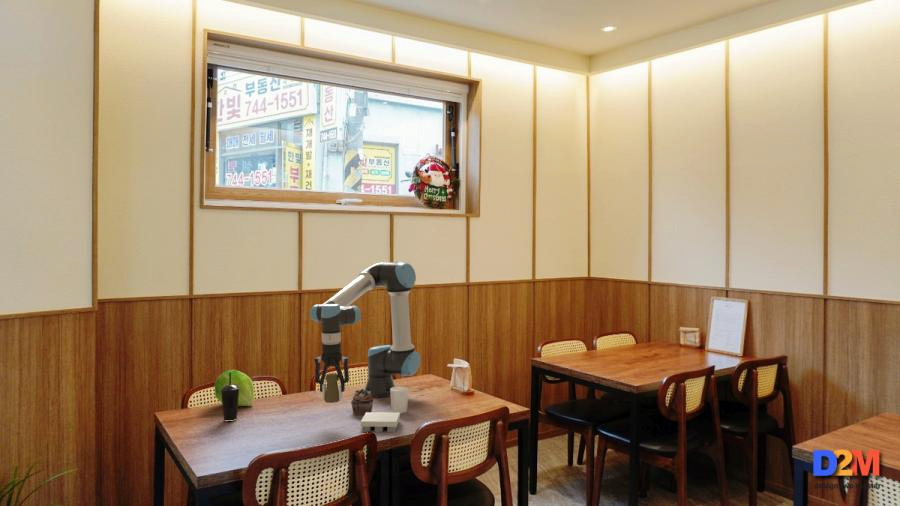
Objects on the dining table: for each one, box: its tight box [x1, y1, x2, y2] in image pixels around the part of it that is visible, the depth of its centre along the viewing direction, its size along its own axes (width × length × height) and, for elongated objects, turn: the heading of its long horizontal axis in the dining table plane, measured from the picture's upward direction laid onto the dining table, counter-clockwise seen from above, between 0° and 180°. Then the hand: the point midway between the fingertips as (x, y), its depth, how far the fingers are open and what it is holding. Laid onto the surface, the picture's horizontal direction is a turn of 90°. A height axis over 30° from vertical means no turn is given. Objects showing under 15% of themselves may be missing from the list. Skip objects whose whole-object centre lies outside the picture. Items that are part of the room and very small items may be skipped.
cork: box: [324, 372, 340, 404], centre depth 232 cm, size 6×6×11 cm
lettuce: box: [214, 369, 255, 407], centre depth 261 cm, size 17×20×16 cm
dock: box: [360, 411, 401, 433], centre depth 230 cm, size 12×14×4 cm
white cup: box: [390, 386, 409, 415], centre depth 251 cm, size 8×8×10 cm
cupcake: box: [350, 388, 374, 416], centre depth 250 cm, size 10×10×10 cm
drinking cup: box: [220, 372, 240, 421], centre depth 239 cm, size 8×8×20 cm
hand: (332, 399), depth 232 cm, fingers closed on cork, 6 cm apart
